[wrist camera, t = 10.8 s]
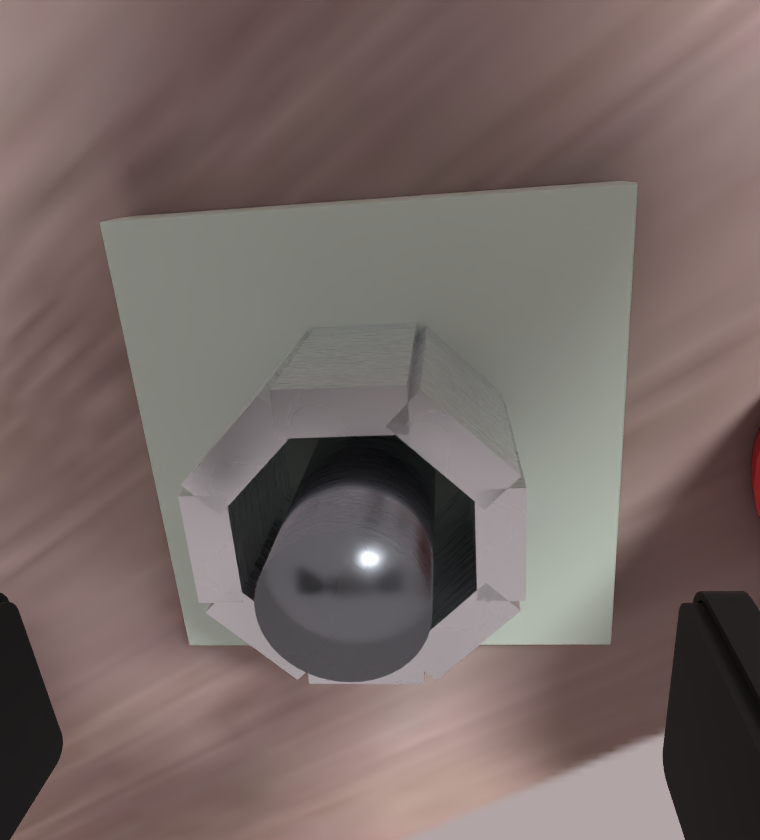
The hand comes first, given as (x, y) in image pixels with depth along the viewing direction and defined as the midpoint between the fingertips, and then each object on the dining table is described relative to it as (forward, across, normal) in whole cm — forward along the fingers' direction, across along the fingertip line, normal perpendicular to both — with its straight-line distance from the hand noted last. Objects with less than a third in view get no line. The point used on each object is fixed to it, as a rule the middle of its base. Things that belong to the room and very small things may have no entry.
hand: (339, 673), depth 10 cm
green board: (+11, 0, +1) cm, 11 cm away
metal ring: (+9, +1, +1) cm, 9 cm away
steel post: (+9, 0, +1) cm, 9 cm away
